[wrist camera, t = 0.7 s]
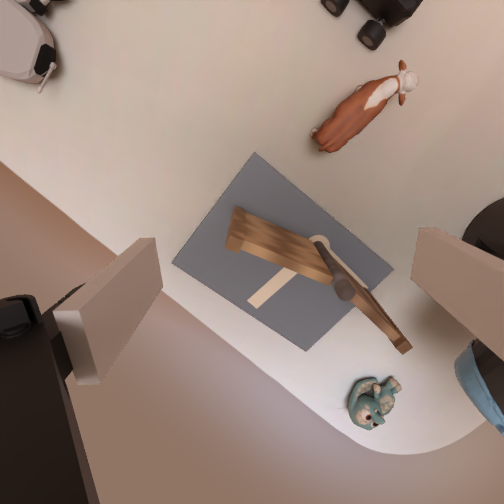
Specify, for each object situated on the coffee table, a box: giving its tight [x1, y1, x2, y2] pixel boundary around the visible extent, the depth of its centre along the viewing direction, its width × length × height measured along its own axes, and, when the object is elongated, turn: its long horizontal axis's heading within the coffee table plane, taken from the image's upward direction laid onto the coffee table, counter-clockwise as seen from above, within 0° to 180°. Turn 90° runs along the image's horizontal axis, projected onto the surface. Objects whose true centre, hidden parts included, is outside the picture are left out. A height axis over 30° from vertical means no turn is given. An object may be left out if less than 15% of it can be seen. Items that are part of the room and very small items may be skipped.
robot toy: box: [0, 0, 62, 94], centre depth 34 cm, size 12×4×15 cm
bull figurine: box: [310, 60, 418, 153], centre depth 36 cm, size 4×13×8 cm, turn 128°
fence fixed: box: [313, 241, 413, 355], centre depth 41 cm, size 14×2×16 cm, turn 46°
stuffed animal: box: [348, 378, 402, 430], centre depth 57 cm, size 11×7×12 cm
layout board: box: [172, 152, 394, 351], centre depth 48 cm, size 30×22×1 cm
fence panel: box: [225, 206, 334, 286], centre depth 38 cm, size 13×2×14 cm, turn 66°
